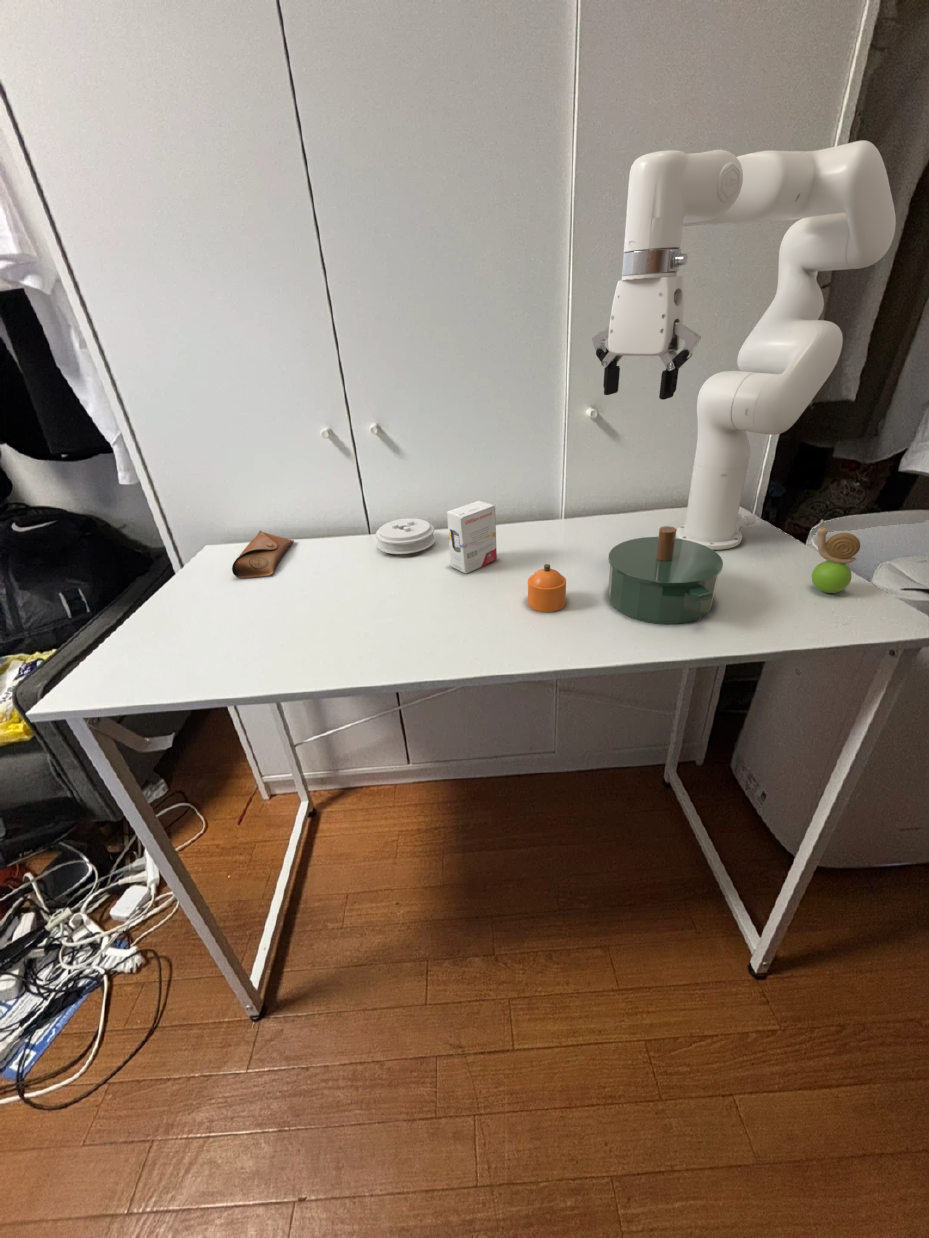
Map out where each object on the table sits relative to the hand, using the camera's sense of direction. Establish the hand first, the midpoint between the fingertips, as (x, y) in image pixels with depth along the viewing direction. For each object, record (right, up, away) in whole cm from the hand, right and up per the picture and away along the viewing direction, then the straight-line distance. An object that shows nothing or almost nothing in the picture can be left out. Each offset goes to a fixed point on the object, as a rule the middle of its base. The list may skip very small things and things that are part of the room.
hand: (637, 395), depth 86 cm
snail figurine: (+33, -31, +6) cm, 45 cm away
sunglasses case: (-70, -22, +33) cm, 81 cm away
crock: (+6, -32, +7) cm, 33 cm away
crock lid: (+5, -26, +3) cm, 26 cm away
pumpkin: (-13, -32, +8) cm, 36 cm away
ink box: (-25, -24, +24) cm, 42 cm away
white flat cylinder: (-40, -19, +34) cm, 56 cm away
